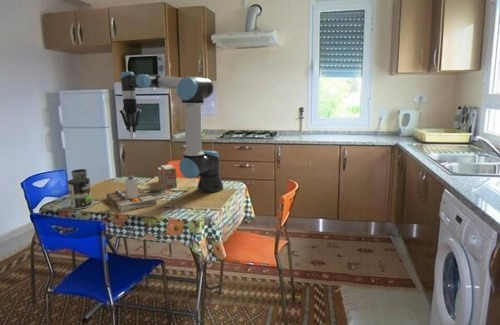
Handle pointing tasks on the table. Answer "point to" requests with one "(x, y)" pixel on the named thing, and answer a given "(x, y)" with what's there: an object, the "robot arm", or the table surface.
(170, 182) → the printed cardboard box
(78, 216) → the table surface
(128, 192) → the pale grey bottle
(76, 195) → the coffee can
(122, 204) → the wooden tray
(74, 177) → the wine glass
